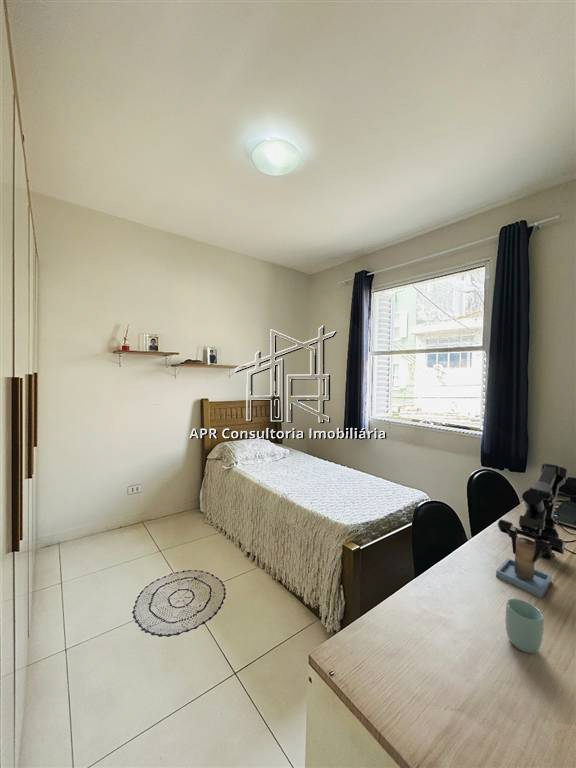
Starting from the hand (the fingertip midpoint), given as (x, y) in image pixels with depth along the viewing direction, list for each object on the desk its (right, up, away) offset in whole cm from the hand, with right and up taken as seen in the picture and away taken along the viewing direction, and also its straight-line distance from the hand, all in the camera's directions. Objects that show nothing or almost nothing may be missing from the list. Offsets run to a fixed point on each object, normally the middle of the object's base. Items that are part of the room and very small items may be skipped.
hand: (523, 557), depth 108 cm
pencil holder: (+1, -7, +1) cm, 7 cm away
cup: (-21, -9, -26) cm, 34 cm away
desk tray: (+1, -8, +1) cm, 9 cm away
